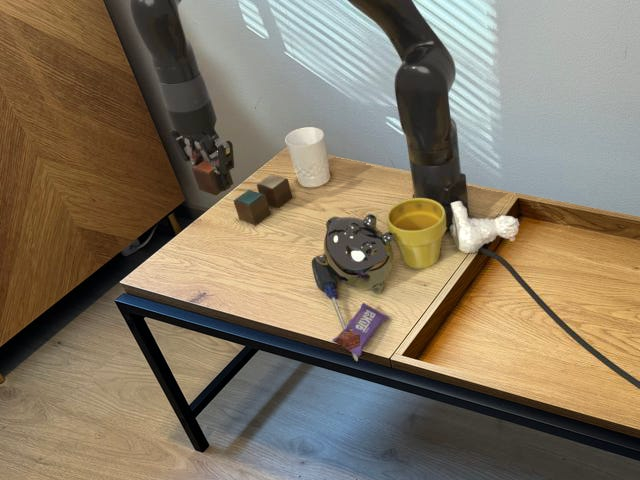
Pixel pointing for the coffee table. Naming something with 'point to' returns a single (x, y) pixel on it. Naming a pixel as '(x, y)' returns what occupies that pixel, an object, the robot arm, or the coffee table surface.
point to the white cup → (309, 156)
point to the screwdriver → (328, 287)
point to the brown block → (275, 190)
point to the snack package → (360, 329)
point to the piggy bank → (358, 252)
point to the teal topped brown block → (252, 207)
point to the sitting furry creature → (479, 229)
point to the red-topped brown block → (207, 178)
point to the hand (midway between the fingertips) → (215, 185)
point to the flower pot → (418, 230)
